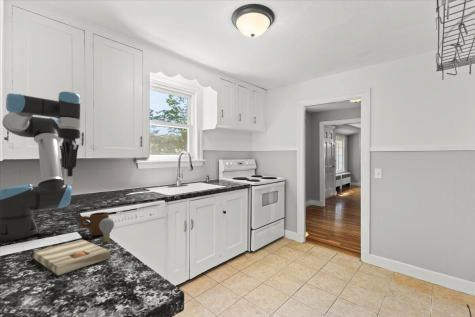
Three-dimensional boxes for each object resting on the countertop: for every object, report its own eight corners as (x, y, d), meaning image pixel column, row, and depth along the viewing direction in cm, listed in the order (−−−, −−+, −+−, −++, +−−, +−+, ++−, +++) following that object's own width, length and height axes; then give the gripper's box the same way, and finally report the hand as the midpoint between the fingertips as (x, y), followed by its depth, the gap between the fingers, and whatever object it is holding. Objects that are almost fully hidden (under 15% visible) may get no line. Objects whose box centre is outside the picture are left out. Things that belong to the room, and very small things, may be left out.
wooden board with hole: (33, 258, 79) (33, 251, 79) (82, 245, 91) (82, 239, 91) (58, 275, 67) (58, 266, 67) (110, 257, 79) (110, 250, 79)
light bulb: (117, 240, 97) (117, 217, 97) (105, 245, 92) (106, 220, 92) (107, 239, 99) (107, 216, 99) (95, 243, 94) (96, 219, 94)
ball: (73, 251, 74) (76, 260, 73) (85, 248, 77) (88, 256, 76) (70, 257, 76) (73, 266, 74) (82, 254, 78) (85, 262, 77)
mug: (79, 239, 99) (79, 217, 99) (77, 235, 105) (77, 215, 105) (110, 233, 107) (110, 213, 107) (106, 230, 113) (106, 211, 113)
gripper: (52, 129, 98) (52, 184, 97) (65, 126, 90) (64, 185, 90) (73, 131, 104) (72, 183, 103) (86, 128, 97) (85, 184, 96)
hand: (68, 184), depth 96 cm, fingers closed
